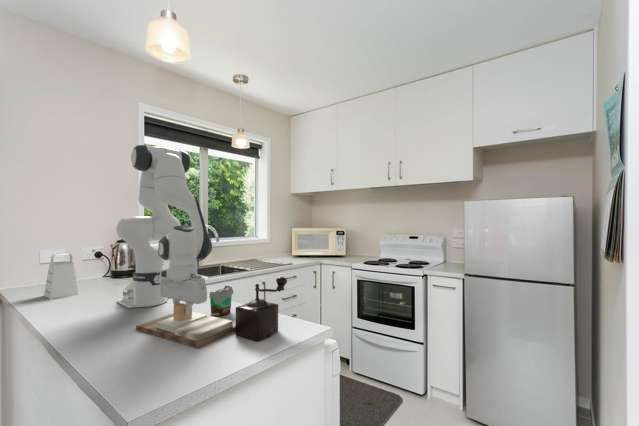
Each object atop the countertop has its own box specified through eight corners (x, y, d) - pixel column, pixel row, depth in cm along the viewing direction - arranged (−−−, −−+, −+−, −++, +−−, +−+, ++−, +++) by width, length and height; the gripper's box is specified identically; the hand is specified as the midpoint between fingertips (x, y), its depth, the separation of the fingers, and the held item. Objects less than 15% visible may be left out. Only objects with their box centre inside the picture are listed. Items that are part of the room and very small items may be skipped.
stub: (156, 327, 101) (157, 306, 101) (189, 316, 112) (190, 297, 112) (174, 332, 96) (174, 311, 96) (206, 320, 108) (207, 301, 108)
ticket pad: (135, 329, 104) (135, 319, 104) (177, 316, 118) (177, 307, 118) (198, 348, 89) (198, 336, 89) (236, 330, 103) (236, 320, 103)
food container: (223, 319, 114) (224, 293, 114) (208, 318, 115) (209, 292, 116) (238, 309, 126) (239, 286, 126) (225, 309, 127) (225, 285, 128)
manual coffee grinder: (260, 343, 93) (260, 284, 94) (234, 335, 99) (234, 280, 99) (289, 327, 107) (289, 276, 107) (264, 321, 112) (265, 273, 113)
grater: (43, 295, 147) (44, 254, 147) (70, 291, 155) (71, 252, 155) (50, 299, 141) (51, 256, 141) (78, 294, 149) (78, 254, 149)
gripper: (211, 274, 102) (211, 315, 102) (172, 268, 112) (172, 306, 112) (196, 277, 97) (195, 320, 97) (156, 271, 106) (156, 310, 106)
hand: (182, 312), depth 104 cm, fingers closed on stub, 3 cm apart
